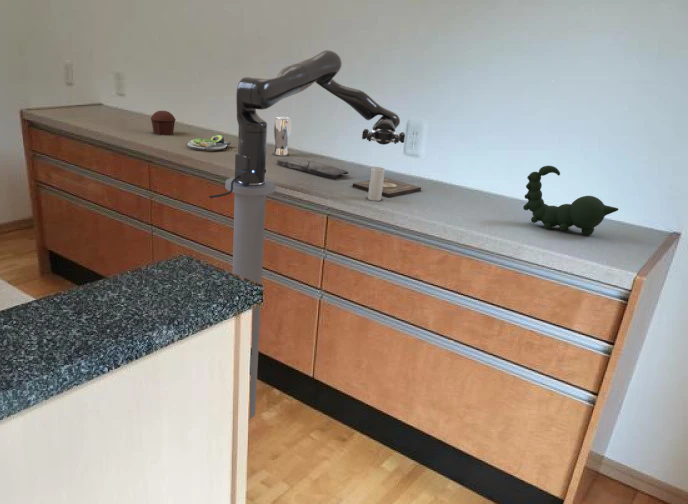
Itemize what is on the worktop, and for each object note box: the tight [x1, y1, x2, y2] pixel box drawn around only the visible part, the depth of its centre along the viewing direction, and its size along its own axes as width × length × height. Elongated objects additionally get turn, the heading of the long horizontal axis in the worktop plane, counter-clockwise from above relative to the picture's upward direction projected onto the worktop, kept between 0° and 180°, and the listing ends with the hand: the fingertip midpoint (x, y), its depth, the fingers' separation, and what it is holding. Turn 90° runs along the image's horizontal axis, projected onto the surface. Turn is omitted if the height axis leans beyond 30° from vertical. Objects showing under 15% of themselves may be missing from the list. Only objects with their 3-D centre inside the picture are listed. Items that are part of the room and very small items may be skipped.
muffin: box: [150, 110, 176, 136], centre depth 280 cm, size 12×11×10 cm
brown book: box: [352, 177, 422, 198], centre depth 211 cm, size 18×16×1 cm
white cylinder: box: [367, 166, 386, 202], centre depth 195 cm, size 4×4×10 cm
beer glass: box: [273, 116, 292, 157], centre depth 251 cm, size 7×7×15 cm
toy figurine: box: [523, 165, 619, 236], centre depth 174 cm, size 9×19×25 cm
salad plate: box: [187, 134, 232, 152], centre depth 255 cm, size 19×18×5 cm
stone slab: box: [276, 157, 349, 181], centre depth 229 cm, size 10×3×30 cm
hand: (382, 139), depth 200 cm, fingers open, 8 cm apart
